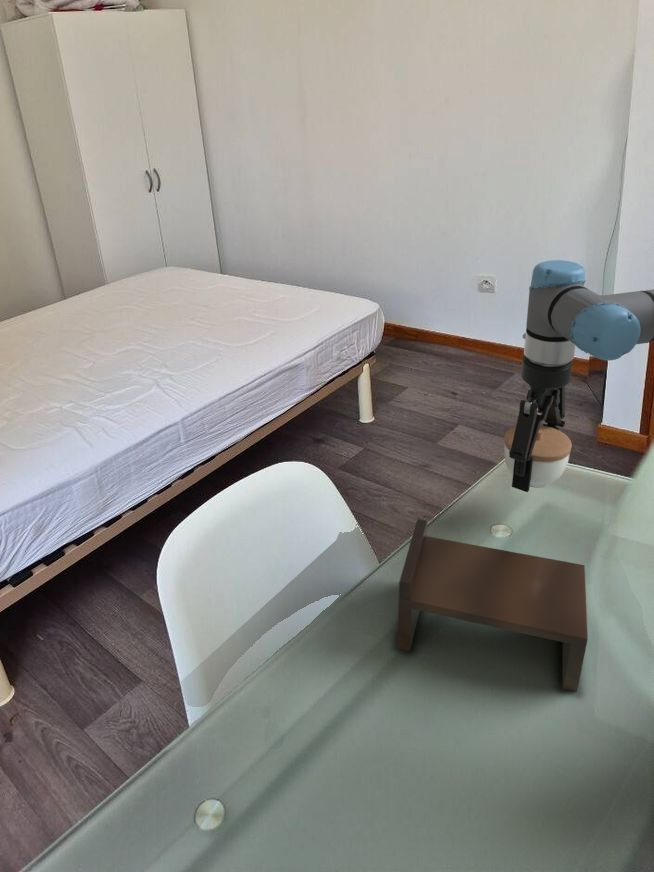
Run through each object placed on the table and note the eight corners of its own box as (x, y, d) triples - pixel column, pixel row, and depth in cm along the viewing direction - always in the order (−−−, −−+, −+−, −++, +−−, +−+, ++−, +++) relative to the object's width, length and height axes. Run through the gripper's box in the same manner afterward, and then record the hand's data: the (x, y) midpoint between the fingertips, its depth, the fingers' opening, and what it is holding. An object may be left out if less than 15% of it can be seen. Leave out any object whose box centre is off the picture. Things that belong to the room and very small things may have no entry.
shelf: (575, 616, 103) (587, 548, 97) (576, 693, 91) (591, 621, 85) (414, 583, 111) (417, 518, 105) (397, 649, 99) (399, 581, 93)
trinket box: (572, 497, 114) (579, 449, 110) (505, 494, 116) (510, 447, 112) (559, 461, 124) (565, 416, 120) (497, 459, 125) (501, 414, 121)
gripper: (551, 329, 120) (538, 437, 129) (494, 378, 104) (483, 497, 114) (596, 338, 115) (579, 450, 125) (543, 391, 100) (528, 514, 109)
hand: (533, 472), depth 119 cm, fingers closed on trinket box, 11 cm apart
